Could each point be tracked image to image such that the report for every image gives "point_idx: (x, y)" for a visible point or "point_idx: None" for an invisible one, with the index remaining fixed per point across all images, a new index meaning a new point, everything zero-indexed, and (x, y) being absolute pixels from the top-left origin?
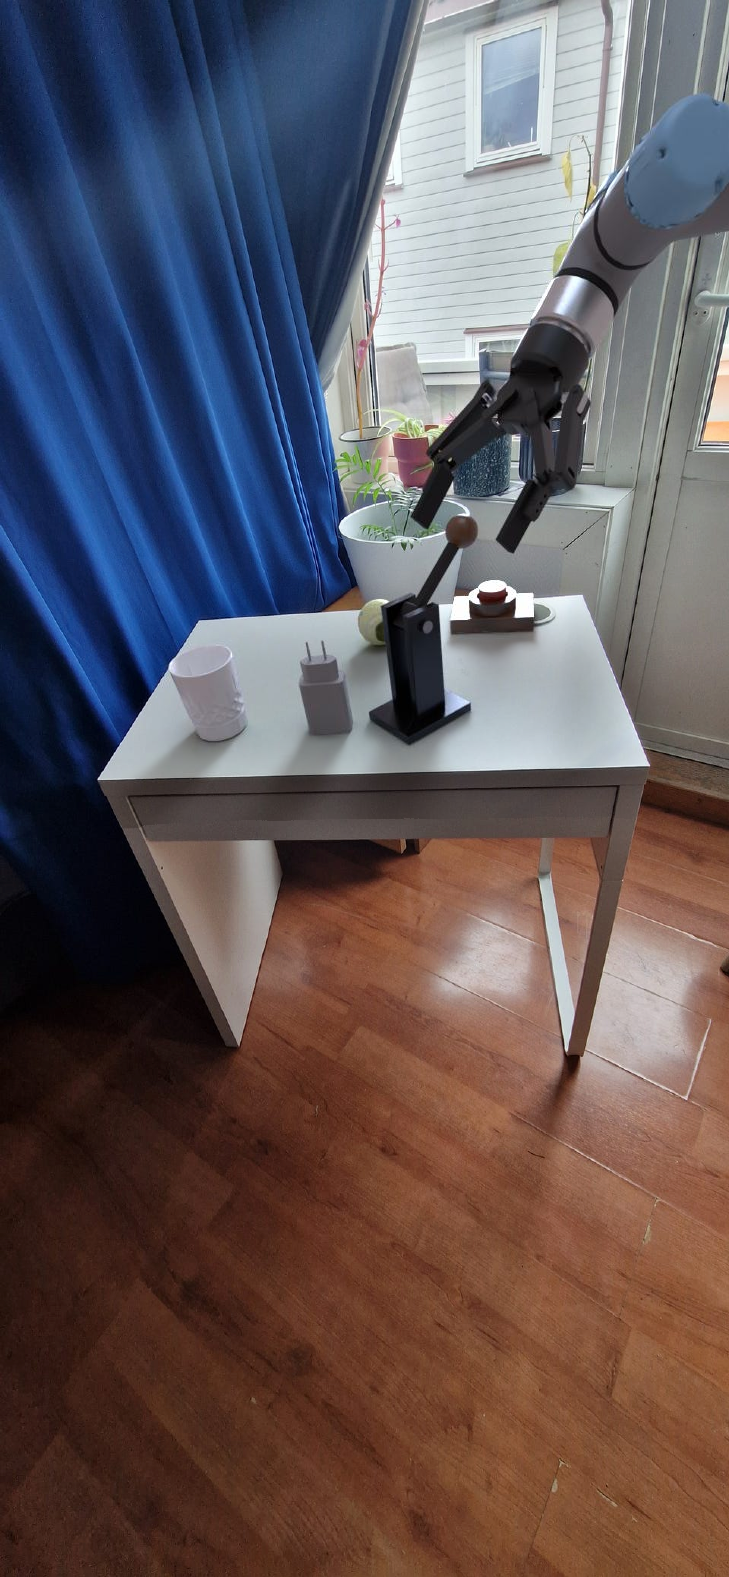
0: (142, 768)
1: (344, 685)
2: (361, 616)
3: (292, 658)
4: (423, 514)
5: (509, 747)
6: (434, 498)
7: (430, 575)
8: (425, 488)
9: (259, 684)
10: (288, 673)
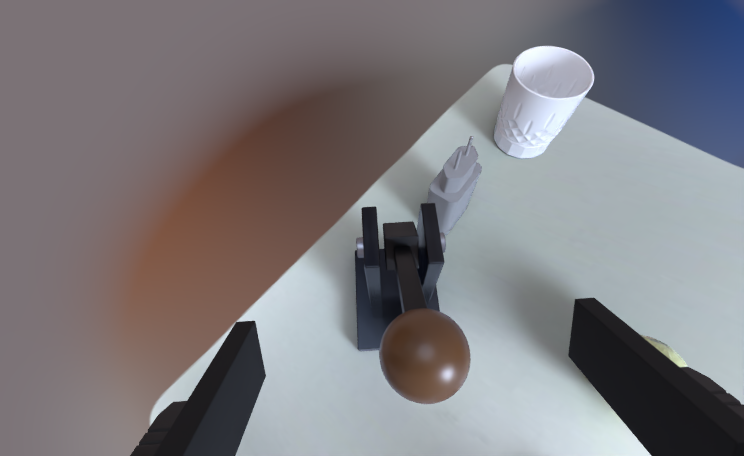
0: (496, 75)
1: (433, 198)
2: (647, 337)
3: (641, 252)
4: (585, 333)
5: (270, 333)
6: (623, 383)
7: (413, 274)
8: (659, 354)
9: (591, 195)
10: (599, 231)
